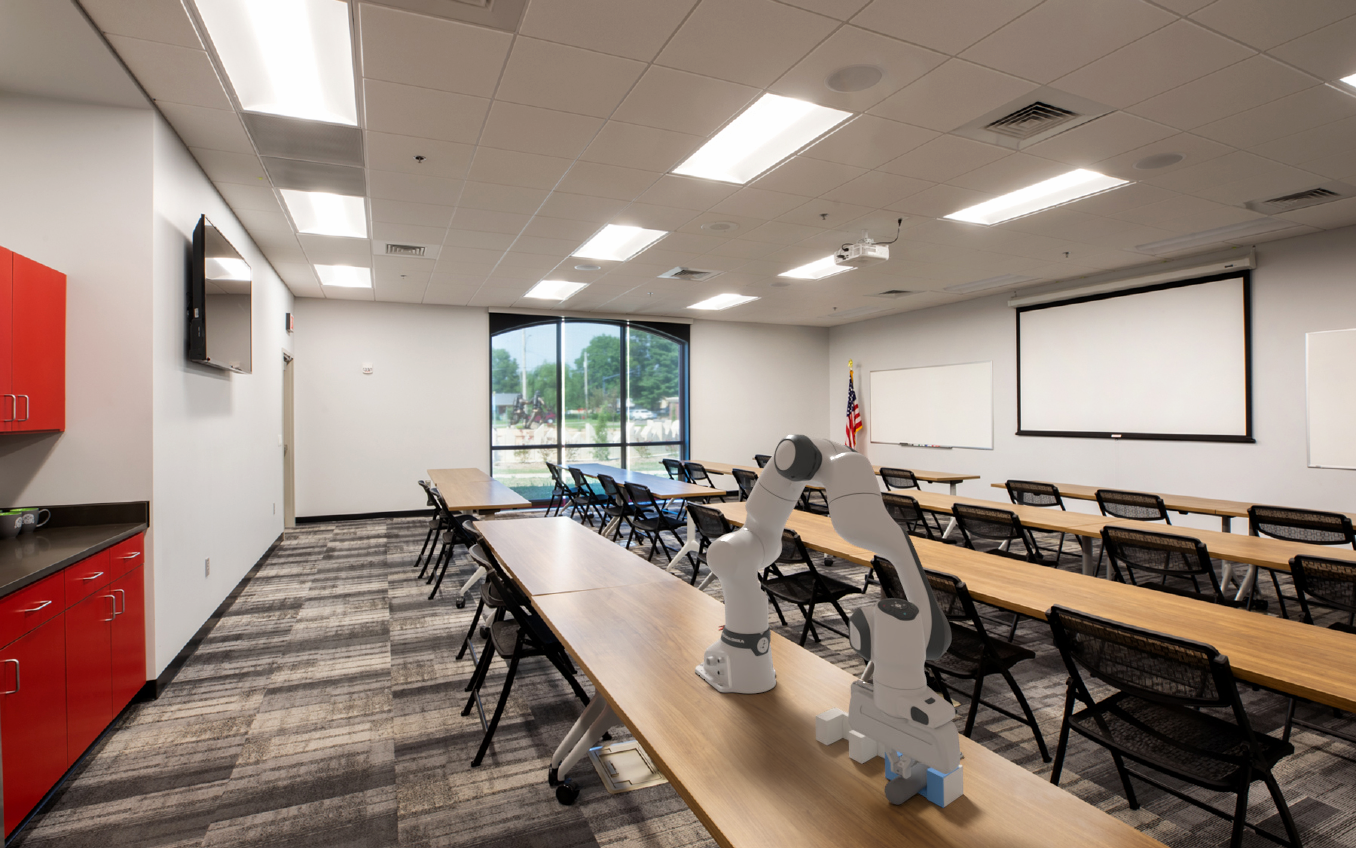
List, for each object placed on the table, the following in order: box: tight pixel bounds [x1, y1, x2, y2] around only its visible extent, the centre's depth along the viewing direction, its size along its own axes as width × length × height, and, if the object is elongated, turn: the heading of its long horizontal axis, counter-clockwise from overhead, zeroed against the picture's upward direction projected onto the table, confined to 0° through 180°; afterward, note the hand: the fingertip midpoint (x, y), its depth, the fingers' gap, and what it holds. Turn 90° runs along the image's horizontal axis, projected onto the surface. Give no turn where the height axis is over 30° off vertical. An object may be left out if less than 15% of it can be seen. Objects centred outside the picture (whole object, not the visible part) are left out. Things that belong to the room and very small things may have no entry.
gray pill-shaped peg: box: [884, 763, 929, 806], centre depth 109 cm, size 4×12×4 cm, turn 126°
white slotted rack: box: [815, 707, 964, 809], centre depth 118 cm, size 28×6×5 cm, turn 36°
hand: (900, 774), depth 108 cm, fingers closed
